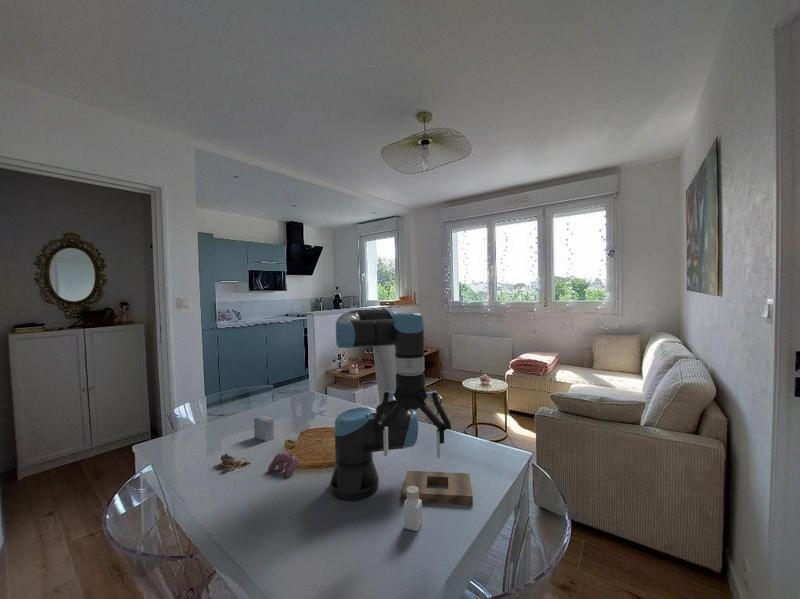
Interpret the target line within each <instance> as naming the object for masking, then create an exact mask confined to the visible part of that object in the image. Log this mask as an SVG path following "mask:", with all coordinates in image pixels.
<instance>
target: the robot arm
mask: <svg viewBox="0 0 800 599" xmlns="http://www.w3.org/2000/svg"><path fill="white" fill-rule="evenodd" d="M424 329H425V325H424V316H423V314H422V313H420V312H400V313H397V312H396V311H395V310H394V309H391V308H381V309H356V310H355V309H354V310H351V311H348V312H345V313H343V314H341V315H340V316H339V317H338V318H337V319H336V322H335V344H336V346H337V348H339V349H343V348H344V349H351V348H363V347H365V348H366V347H372V353H373V360H374V361H373V362H374V370H375V378H376V386H377V393H378V399H379V402H378V404H377V406H376V407H375V412H372V410H371V409H370V408H368V407H355V408H354V407H353V408H351V409H348V410H345V411H343V412H341V413H339V415H338V416H337V417H336V418H335V421H334V430H333V433H334V449H335V450H334V457H335V458H334V460H335V461H334V462H335V464H334V467H333V471H332V474H331V478H330V483H329V487H330V488H329V490H330V493H331V494H332V496H333V497H335V498H336V499H339V500H343V501H358V500H363V499H366V498H369V497H370V496H372V495H373V494H375V492H377V490H378V489H379V486H380V485H379V484H380V483H379V479H380V478H379V474H378V470H377V469H376V468H377V467H376V466H375V463H374V462H375V461H374V458H373V453H377V452H383V456H384V457H387V456H388V453H389V451H393V450H394V451H395V450H399V449H400V450H403V449H406V448H411V447H414V446H415V445H416V443H417V442H418V437H419V436H418V435H419V415H418V412H417V410H419V409H420V410H421V412H422V413H423V414H424V415H425V416H426V417H427V418H428V419H429V420H430V422H431V423H432V424H433V425H434V426H435V427H436V430H435V433H436V458H437V459H440V458H441V444H444V443H445V431H446V430H451V428H452V423H451V421H450V418H449V416H448V415H447V413H446V411H445V409H444V407H443V406H442V403H441V401H440V399H439V395H438V391H437V390H436V389H434V390H432V391H426V378H425V377H426V376H425V373H424V372H425V370H426V368H425V341H424V340H425V337H424V336H425V334H424V332H425V331H424ZM428 398H429V400H430V401H432V403H433V405H434V407H435V409H436V410H437V413H438V414H439V416H440V418H441V419H440V418H438V415H436V414H435V413H434V411H432V410H431V408H430V407H429V406H428V404H427V403H426V401H425V400H426V399H428ZM441 420H442V421H441Z"/></svg>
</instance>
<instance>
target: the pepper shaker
mask: <svg viewBox="0 0 800 599" xmlns="http://www.w3.org/2000/svg"><path fill="white" fill-rule="evenodd" d="M406 493H407V499H406V501H404V503H403V526H404V527H403V528H404V529H406V530H409V531H414V532H418V531H419V530H420V528H421V526H422V523H423V502H422V501H421V500H420V499H419V489H418V487H416V486H409V487H408V488H407V490H406Z"/></svg>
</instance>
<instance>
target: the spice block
mask: <svg viewBox="0 0 800 599" xmlns="http://www.w3.org/2000/svg"><path fill="white" fill-rule="evenodd" d="M428 485H438V486H440V485H441V486H442V485H443V486H447V488H433V487H431V488H429V487H428ZM409 486H416V487H418V489H419V499H420V500H421V501H422V503H431V504H432V503H433V504H452V505H467V506H468V505H469V506H470V505H471V506H474V499H473V498H474V496H473V490H472V489H473V488H472V483H471V475H470V473H469V472H467V473H465V472H447V471H446V472H445V471H444V472H443V471H426V470H425V471H424V470H423V471H421V470H406V474H405V480H404V483H403V488H402V502H405V501H406V499H407V493H406V490H407V488H408V487H409Z"/></svg>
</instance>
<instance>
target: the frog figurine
mask: <svg viewBox="0 0 800 599" xmlns="http://www.w3.org/2000/svg"><path fill="white" fill-rule="evenodd" d="M235 459H236V458H235V457H234V456H231V455H229V454H228V453H225V454H224V455H223V454H222V455H221V457H220V460H221V461H222V462H221V463H219V464H218V465H217V467H216V468H217V469H218V468H220V469H221V471H222V473H223V472H224V473H223V474H227V473H228V474H227V475H229V474H231V473H232V474H235V473H238V472H241V470H242V469H244V468H247V467H249V466H250V465H252V462H251V461H250V460H248V459H247V458H245V461H242V460H244V458H243V457H240V458H239V460H237V461H236V460H235ZM223 465H224V466H223ZM222 468H223V469H222ZM232 470H233V471H232Z"/></svg>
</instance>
